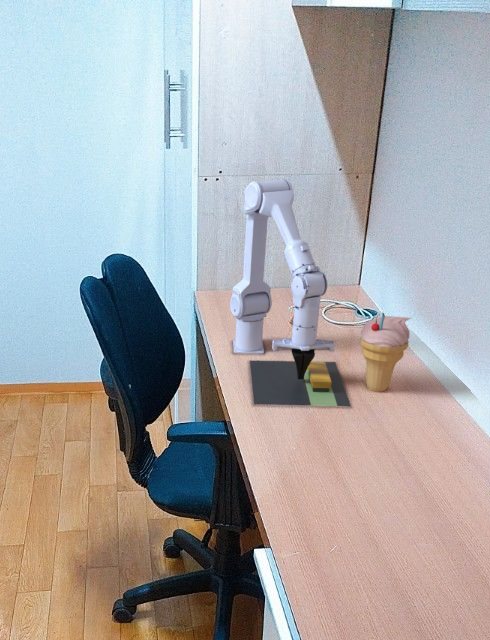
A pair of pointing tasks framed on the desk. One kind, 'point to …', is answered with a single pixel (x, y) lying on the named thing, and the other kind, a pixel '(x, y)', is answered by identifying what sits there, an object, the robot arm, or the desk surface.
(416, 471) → the desk surface
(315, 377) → the gold bar
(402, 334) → the ice cream cone
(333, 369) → the desk mat
